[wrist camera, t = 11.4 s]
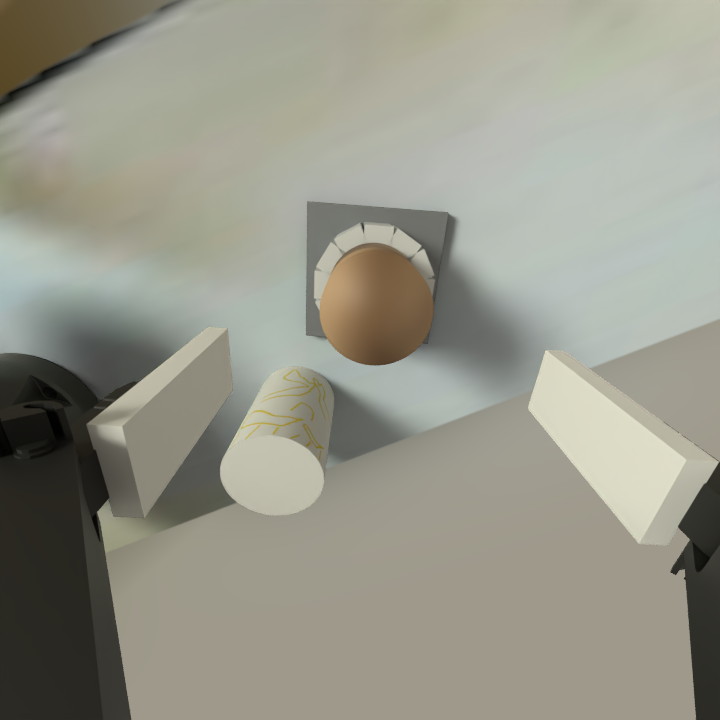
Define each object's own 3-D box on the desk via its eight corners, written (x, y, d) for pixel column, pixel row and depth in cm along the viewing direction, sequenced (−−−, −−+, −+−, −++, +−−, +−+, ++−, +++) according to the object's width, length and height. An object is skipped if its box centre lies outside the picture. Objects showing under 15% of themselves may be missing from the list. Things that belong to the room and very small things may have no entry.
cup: (344, 379, 37) (337, 452, 26) (322, 438, 40) (308, 525, 29) (269, 356, 36) (230, 422, 25) (253, 419, 39) (212, 501, 28)
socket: (307, 332, 35) (298, 353, 30) (308, 201, 30) (298, 200, 25) (425, 340, 35) (436, 362, 30) (445, 212, 31) (462, 213, 26)
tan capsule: (331, 313, 33) (318, 361, 23) (334, 235, 30) (321, 250, 20) (405, 318, 33) (424, 368, 23) (415, 241, 30) (442, 259, 20)
